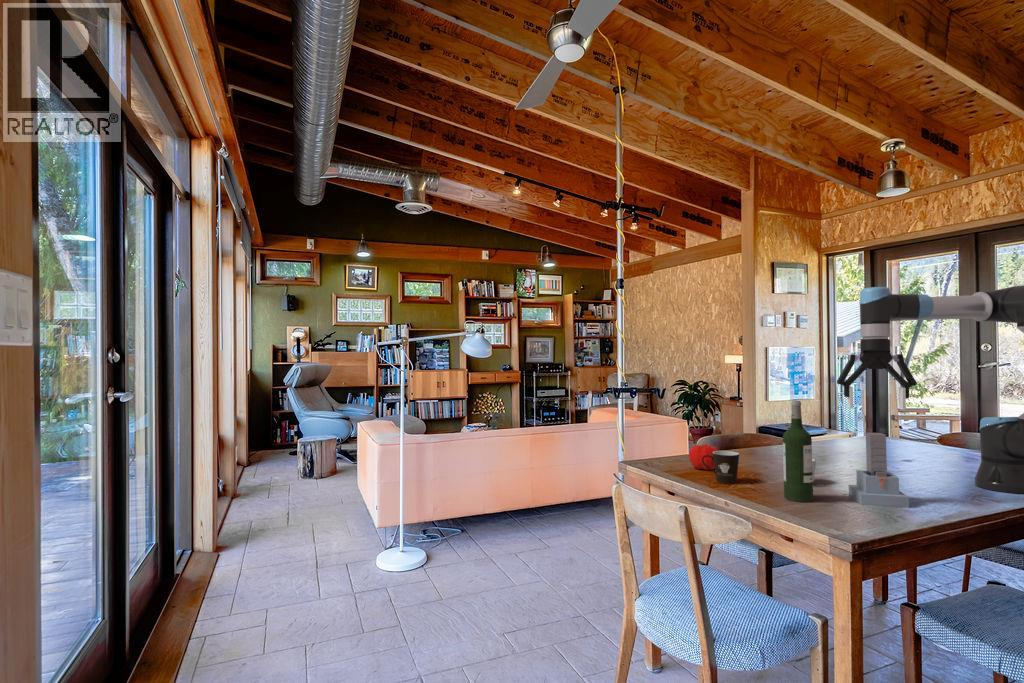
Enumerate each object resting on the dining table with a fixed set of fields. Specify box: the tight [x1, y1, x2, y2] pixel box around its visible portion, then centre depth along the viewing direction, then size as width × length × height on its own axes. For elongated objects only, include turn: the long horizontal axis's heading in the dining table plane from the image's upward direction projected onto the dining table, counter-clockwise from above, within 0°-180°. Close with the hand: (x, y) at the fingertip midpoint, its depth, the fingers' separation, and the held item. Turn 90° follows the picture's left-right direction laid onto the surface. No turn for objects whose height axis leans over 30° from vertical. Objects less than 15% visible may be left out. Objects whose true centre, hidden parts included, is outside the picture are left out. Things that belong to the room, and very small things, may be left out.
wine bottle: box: [782, 399, 814, 503], centre depth 164 cm, size 8×8×30 cm
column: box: [865, 432, 888, 476], centre depth 161 cm, size 4×5×20 cm
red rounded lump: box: [688, 443, 720, 471], centre depth 208 cm, size 11×12×9 cm
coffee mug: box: [702, 450, 740, 485], centre depth 188 cm, size 12×9×10 cm
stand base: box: [847, 469, 910, 508], centre depth 161 cm, size 12×12×9 cm
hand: (876, 408), depth 162 cm, fingers open, 13 cm apart
